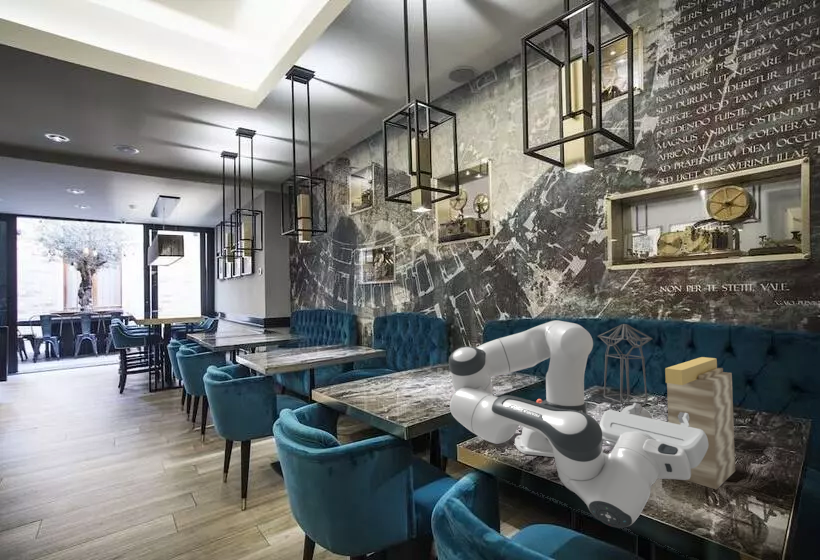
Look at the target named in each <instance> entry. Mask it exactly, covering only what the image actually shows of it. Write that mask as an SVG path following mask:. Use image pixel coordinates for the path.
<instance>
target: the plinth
mask: <svg viewBox="0 0 820 560" xmlns="http://www.w3.org/2000/svg"><path fill="white" fill-rule="evenodd" d="M732 374H733V373H732V372H727V371H726V372H725V371H724V368H723V367H717V369H714V370H711V371H709V372H706V373H704V374H701V375H699V376H698V379H697V380H694V381H692V382H689V383H687V384H684V385H677V384H671V383H666V390H667V391H666V393H667V422H670V423H674V424H679V425H680V424H681V423H680V422H679V419H678V415H679V414H680V412H684V413H688V415H689V421H688V423H689V426H690V427H693V428H697V429H701V430H703V431H704V432H705V434H706V436H707V439H708V449H707V452H706V454H705V456H704V458H703V459H702V461H701V463H700V464H699V465H698V466H697V467H695V468H692V469H691V477H690V479H688V480H686V481H687V482H691V483H693V484H697V485H700V486H703V487H706V488H710V489H714V490H718V489H719V487H721V485H723V483H725V482H726V481H727V480H728V479H729V478H730V477H731V476H732V475H733V474H734V473H735V472H736V458H735V457H736V454H735V453H736V452H735V450H736V449H735V425H734V403H733V401H734V400H733V375H732Z"/></svg>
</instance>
